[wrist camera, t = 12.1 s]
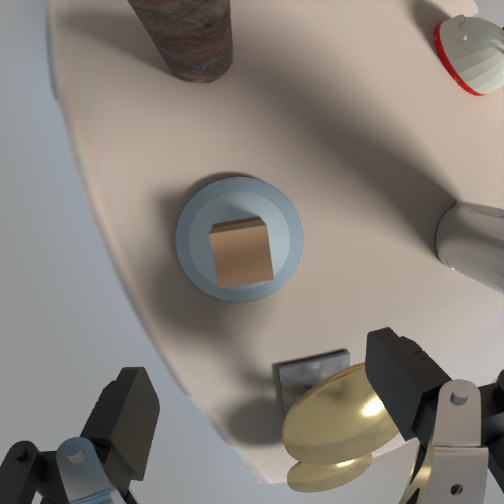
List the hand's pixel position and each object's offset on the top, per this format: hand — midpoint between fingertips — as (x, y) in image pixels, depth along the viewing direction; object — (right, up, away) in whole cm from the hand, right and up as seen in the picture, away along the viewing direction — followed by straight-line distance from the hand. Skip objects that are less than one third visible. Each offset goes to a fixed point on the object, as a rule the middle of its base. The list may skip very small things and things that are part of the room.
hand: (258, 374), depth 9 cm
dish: (-2, +6, +23) cm, 24 cm away
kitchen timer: (+35, +36, +18) cm, 53 cm away
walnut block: (-1, +5, +22) cm, 22 cm away
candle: (-6, +26, +17) cm, 32 cm away
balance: (+9, -16, +29) cm, 34 cm away
